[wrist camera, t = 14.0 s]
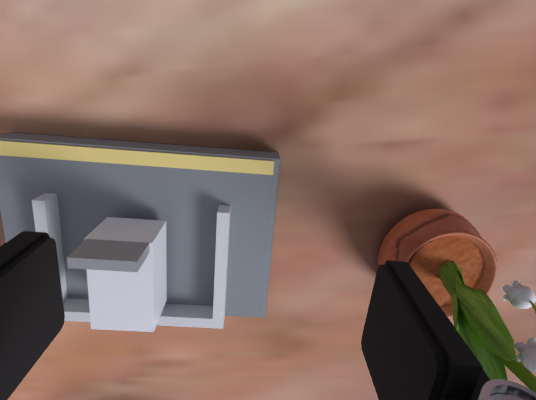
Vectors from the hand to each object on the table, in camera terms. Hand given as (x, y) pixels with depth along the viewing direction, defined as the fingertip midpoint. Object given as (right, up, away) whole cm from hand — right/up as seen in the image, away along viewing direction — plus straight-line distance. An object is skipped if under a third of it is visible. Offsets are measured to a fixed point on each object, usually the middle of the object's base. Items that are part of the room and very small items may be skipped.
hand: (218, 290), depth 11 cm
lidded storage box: (-10, -2, +23) cm, 25 cm away
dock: (-10, 0, +25) cm, 27 cm away
